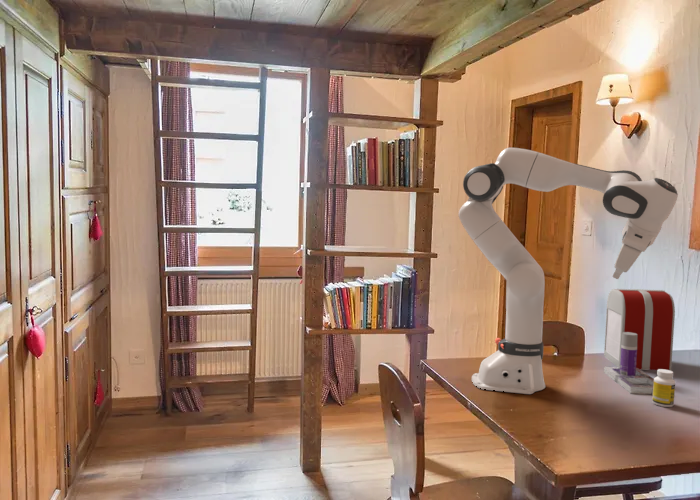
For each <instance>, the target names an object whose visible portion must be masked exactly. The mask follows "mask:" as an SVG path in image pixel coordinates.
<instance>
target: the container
mask: <svg viewBox="0 0 700 500" xmlns="http://www.w3.org/2000/svg"><path fill="white" fill-rule="evenodd" d="M636 358H637V334H636V333H631V332H623V333H622V344H621V359H620V375H626V376H635V375H636Z"/></svg>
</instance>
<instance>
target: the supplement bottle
mask: <svg viewBox="0 0 700 500" xmlns="http://www.w3.org/2000/svg"><path fill="white" fill-rule="evenodd" d="M656 375H657V376H655V377H654V378H653V379H654V385H653V394H652V397H651V398H652V401H651V402H652V403H653V404H654V405H656V406H658V407H664V408H672V407H673V406H674V404H675V392H676V380H674V371H673V370H671V371H670V370H665V369H658V370H656Z"/></svg>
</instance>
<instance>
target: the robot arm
mask: <svg viewBox="0 0 700 500" xmlns="http://www.w3.org/2000/svg"><path fill="white" fill-rule="evenodd" d="M507 184H511V185H512V184H513V185H517V186H521V187H523V188H526V189H530V190H533V191H538V192H543V193H544V192H545V193H546V192H547V193H549V192H552V191H554V190H556V189H559V188H562V187H566V186H578V187H581V188H585V189H589V190H593V191H597V192H601V193H602V194H603V197H602V204H603V207H604V209H605V210H606V211H607V212H608V213H609V214H612V215H613V216H617V217H620V218H626V219H627V221H626V223H625V225H624V227H623V229H622V231H621V234H622V239H621V243H622V245H621V247H620V251H619V252H618V254H617V258H616V260H615V264H614V269H615V270H614V273H613V275H612V277H613V279H616V280H619V279H620V277H621V275H622V274H623V273H627V272H628V271H629V270H630V269H631V267H632V266H633V265H634V263H635V262H636V261H637V260H638V258H639V256H640V255H641V254H642V252H645V251H646V250H647V249H648V248H649V247H650V246H652V245H654V242H655V241H656V239H657V237H658V236H659V233H660V232H661V230H662V226H663V224H664V222H665V221H666V220H667V219H668V218H669V216H670V214H671V213H672V211H673V209H674V207H675V204H676V203H677V200H678V195H679V194H678V191H677V189H676V187H675V186H674V185H673V184H671V183H670V182H668V181H667V180H665V179H662V178H658V177H654V178H652V179H647V180H642V178H641V177H640V176H639V175H638V174H637V173H635V172H634V171H632V170H631V171H630V170H603V169H599V168H595V167H592V166H587V165H583V164H579V163H574V162H569V161H567V160H564V159H560V158H557V157H555V156H551V155H549V154H545V153H542V152H539V151H535V150H531V149H526V148H519V147H506V148H504V149H503V150H502V151H501V152H500V153H499V154H498V156H497V157H496V161H495V162H492V163H486V164H482V165H481V164H480V165H478V166H474V167H472V168H471V169H469V171H468V172H467V173H466V174H465V176H464V178H463V182H462V186H463V187H462V188H463V191H464V192H465V194H466V195H467V197H468V199H467V200H466V201H465V202H464V203H463V204H462V206H460V208H459V210H458V219H459V220H460V223H461V224H462V227H463V229H464V230H465V232H466V233H467V235H468V236H469V238H470V239H471V240H472V241H473V243H474V244H475V245H476V247H477V248H478V249H479V251H480V252H481V253H482V255H484V257H485V259H486V260H487V261H488V262H489V263H491V265H492V266H493V267H494V268H495V269H496V270H497V271H498V272H499V273H500V274H501V276H502V277H503V278H504V280H505V282H506V287H505V289H506V291H505V292H506V295H505V309H506V310H505V311H506V312H505V313H506V314H505V337H504V338H503V339H501V338H500V337H496V338H495V339H494V343H495V344H496V345H497V346H498V347H497V350H496V351H495V352H493V353H492V354H490V355H489V356H487V357H486V358H484V359H483V360H481V363H480V365H479V368H478V369H479V370H478V372H476V373H473V374H472V375H471V382H473V383H472V385H474V386H475V387H476V386H477V387H476V388H477V389H480V388H481V389H480V390H484V389H486V391H493V390H495V391H496V392H503V391H504V392H505V393H512V394H513V393H515V394H524V395H532V394H534V393H535V392H539V391H542V390H544V389H545V388H546V383H545V380H544V373H543V361H542V360H544V359H543V357H544V342H543V323H544V307H545V305H544V302H545V287H546V285H545V284H546V281H545V280H546V279H545V273H544V270H543V267H541V265H540V264H539V263H538V262H537V260H535V258H534V257H533V256H532V255H531V253H530V252H529V251H528V250H527V249H526V248H525V246H524V245H523V244H522V243H521V242H520V241H519V240H518V238H517V237H516V236H515V235H514V233H513V232H512V231H511V230H510V228H509V227H508V226H507V225H506V223H505V222H504V221H503V219H502V218H501V217H500V216H499V215H498V213H497V212H496V210H495V209H494V207H493V204H494V202H495V200H496V199H498V197H499V196H500V194H502V191H503V189H504V186H505V185H507Z"/></svg>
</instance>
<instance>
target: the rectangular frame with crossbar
mask: <svg viewBox="0 0 700 500" xmlns="http://www.w3.org/2000/svg"><path fill="white" fill-rule="evenodd" d="M603 373H604V374H606V376H607V377H609V378H610V379H611V380H613V381H614V382H615V383H616V384H618V385H619V386H620V387H621V388H623V390H624V389H625V391H627V392H628V393H629V394H636V395H639V394H641V395H642V394H643V395H653V385H654V378H653V377H652V376H651V375H649V374H647V373H646V372H644V370H642V369H638V368H636V375H635V376H626V375H620V367H617V366H604V367H603Z"/></svg>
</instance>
